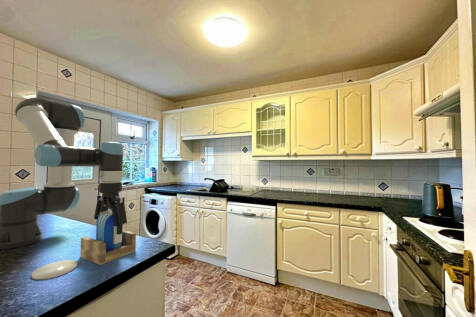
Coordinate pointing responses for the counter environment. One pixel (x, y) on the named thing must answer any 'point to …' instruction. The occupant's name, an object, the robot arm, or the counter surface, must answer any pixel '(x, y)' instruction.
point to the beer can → (106, 230)
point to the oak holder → (97, 249)
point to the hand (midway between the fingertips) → (109, 240)
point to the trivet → (54, 269)
